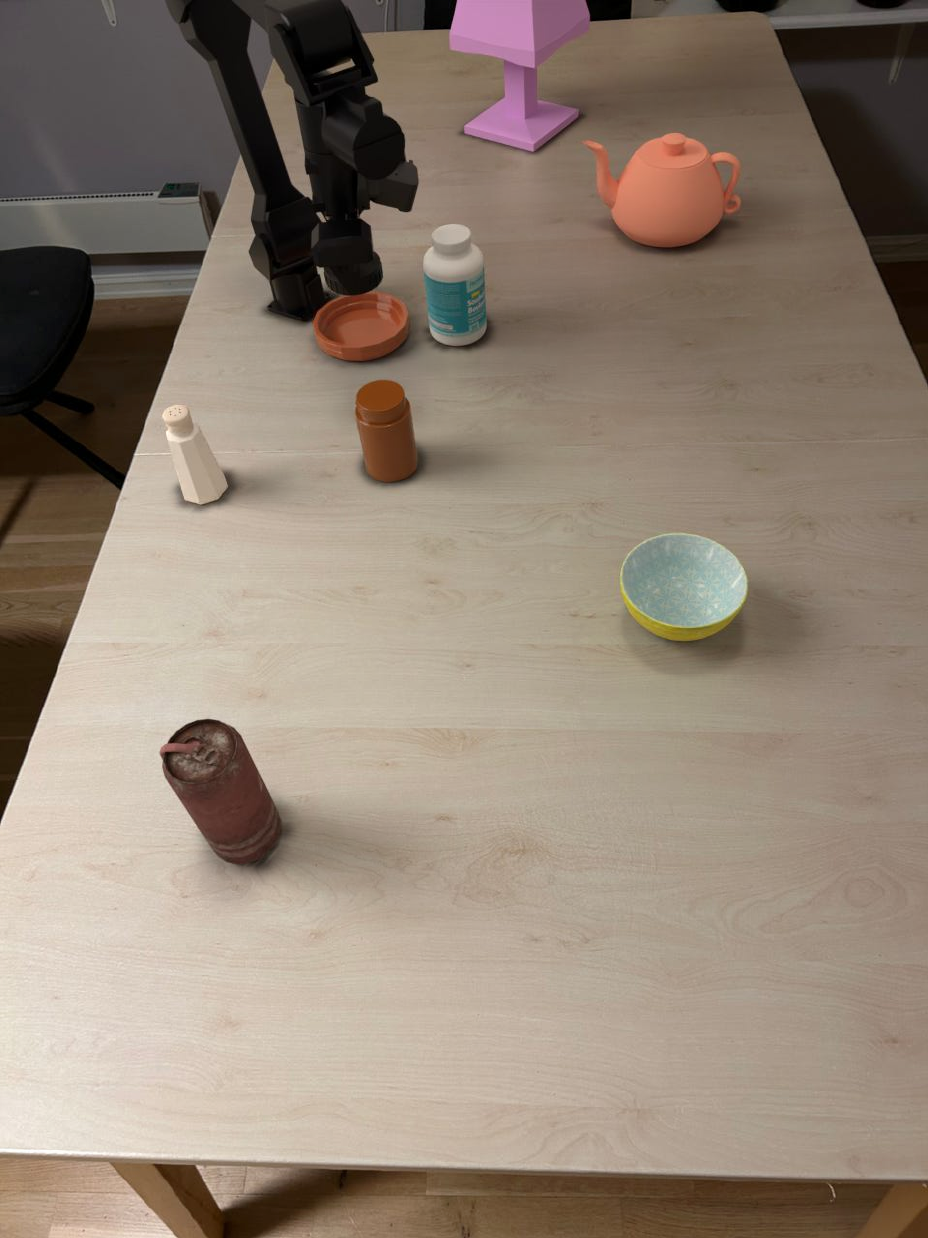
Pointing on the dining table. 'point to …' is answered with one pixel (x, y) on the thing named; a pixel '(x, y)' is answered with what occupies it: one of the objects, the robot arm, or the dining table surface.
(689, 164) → the teapot
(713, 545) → the bowl
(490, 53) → the pink table lamp
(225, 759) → the can
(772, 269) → the dining table surface
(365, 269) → the lid
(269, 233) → the robot arm
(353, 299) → the dish
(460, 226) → the pill bottle
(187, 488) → the pepper shaker
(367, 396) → the jam jar
